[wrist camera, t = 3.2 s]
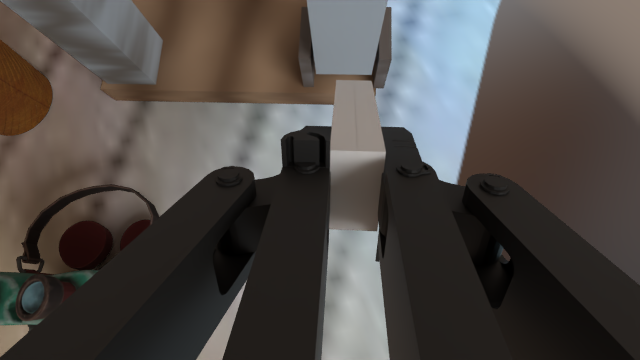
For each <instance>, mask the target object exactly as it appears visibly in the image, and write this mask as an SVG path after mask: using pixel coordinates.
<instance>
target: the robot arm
mask: <svg viewBox="0 0 640 360" xmlns="http://www.w3.org/2000/svg"><path fill="white" fill-rule="evenodd" d="M281 149H282V164H283V167H282V170H281V173H280V174H279V175H276V176H274V177H269V178H264V179H258V180H255V178H254V174H253V172H251V171H250V170H249V169H246V168H243V167H235V166H229V167H223V168H221V169H218V170H215V171H213V172H211V173H210V174H208V175H207V176H206V177H204V178H203V179H202V180H201V181H200V182H199V183H198V184H196V185H195V186H194V187H193V188H192V189H191V190H190V191H189V192H187V193H186V194H185V195H184V196H183V197H182V198H181V199H179V200H178V201H177V202H176V203H175V204H174V205H173V206H172V207H170V208H169V209H168V210H167V211H166V212H165V213H164V214H162V215H161V216H160V217H159V218H158V219H157V220H156V221H154V222H153V223H152V224H151V225H150V226H149V227H148V228H147V229H145V230H144V231H143V232H142V233H141V234H140V235H139V236H137V237H136V238H135V239H134V240H133V241H132V242H131V243H130V244H128V245H127V246H126V247H125V248H124V249H123V250H122V251H120V252H119V253H118V254H117V255H116V256H115V257H114V258H112V259H111V260H110V261H109V262H108V263H107V264H106V265H105V266H103V267H102V268H101V269H100V270H99V271H98V272H97V273H95V274H94V275H93V276H92V277H91V278H90V279H89V280H88V281H86V282H85V283H84V284H83V285H82V286H81V287H80V288H78V289H77V290H76V291H75V292H74V293H73V294H72V295H71V296H69V297H68V298H67V299H66V300H65V301H64V302H63V303H61V304H60V305H59V306H58V307H57V308H56V309H55V310H53V311H52V312H51V313H50V314H49V315H48V316H47V317H46V318H44V319H43V320H42V321H41V322H40V323H39V324H38V325H36V326H35V327H34V328H33V329H32V330H31V331H30V332H29V333H27V334H26V335H25V336H24V337H23V338H22V339H21V340H19V341H18V342H17V343H16V344H15V345H14V346H13V347H11V348H10V349H9V350H8V351H7V352H6V353H5V354H4V355H2V356H1V357H0V360H196V359H197V357H198V356H199V354H200V352H201V351H202V349H203V348H204V346H205V345H206V343H207V341H208V340H209V338H210V337H211V335H212V334H213V332H214V330H215V329H216V327H217V326H218V324H219V323H220V321H221V319H222V318H223V316H224V315H225V313H226V312H227V310H228V308H229V307H230V305H231V304H232V302H233V301H234V299H235V297H236V296H237V294H238V293H239V291H240V290H241V288H242V286H243V285H244V283H245V282H246V280H247V282H246V286H245V289H244V292H243V295H242V298H241V302H240V305H239V308H238V311H237V315H236V318H235V321H234V324H233V327H232V331H231V334H230V337H229V340H228V343H227V347H226V350H225V353H224V356H223V359H222V360H321V355H322V339H323V323H324V308H325V292H326V276H327V260H328V245H329V229H339V230H362V231H377V227H378V221H379V236H378V244H377V253H376V261H378V262H379V260H380V269H381V279H382V289H383V298H384V308H385V318H386V328H387V337H388V347H389V357H390V360H640V285H638V284H637V283H636V282H635V281H634V280H633V279H631V278H630V277H629V276H628V275H626V274H625V273H624V272H623V271H622V270H620V269H619V268H618V267H617V266H616V265H614V264H613V263H612V262H611V261H609V260H608V259H607V258H606V257H605V256H604V255H602V254H601V253H600V252H599V251H598V250H596V249H595V248H594V247H593V246H591V245H590V244H589V243H588V242H587V241H586V240H584V239H583V238H582V237H581V236H579V235H578V234H577V233H576V232H575V231H573V230H572V229H571V228H570V227H569V226H567V225H566V224H565V223H564V222H563V221H561V220H560V219H559V218H558V217H557V216H555V215H554V214H553V213H552V212H550V211H549V210H548V209H547V208H546V207H544V206H543V205H542V204H541V203H539V202H538V201H537V200H536V199H535V198H533V197H532V196H531V195H530V194H529V193H528V192H526V191H525V190H524V189H523V188H522V187H520V186H519V185H518V184H516V183H515V182H513V181H511V180H510V179H507V178H505V177H502V176H501V175H497V174H495V175H494V174H490V173H488V174H476V175H472V176H471V177H469V178H468V179H467V183H466V186H460V185H455V184H450V183H447V182H443V181H441V180H439V179H438V177H437V174H436V172H435V170H434V169H433V168H432V167H431V166H430V165H428V164H426V163H424V162H422V160H421V157H420V155H419V152H418V149H417V148H416V144H415V142H414V138H413V136H412V133H410V132H409V131H408V130H406V129H405V128H404V127H381V125H380V120H379V115H378V110H377V105H376V100H375V95H374V90H373V85H372V81H361V80H336V89H335V99H334V109H333V120H332V127H328V126H305V127H304V128H303V129H301V130H300V131H295V132H290V133H288V134H286V135H284V136H283V138H282V139H281ZM503 248H504V249H505V250H506V251H507V253H508V254H509V256H510V257H511V259H510V261H509V262H508V261H507V260H506V259H505V258H504V257H503V255H502V254H501V253H502V251H503Z"/></svg>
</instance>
